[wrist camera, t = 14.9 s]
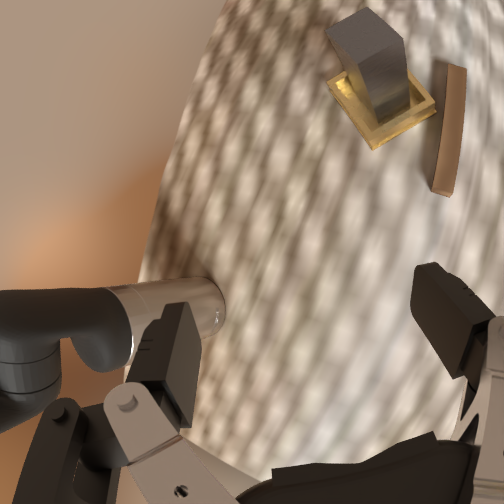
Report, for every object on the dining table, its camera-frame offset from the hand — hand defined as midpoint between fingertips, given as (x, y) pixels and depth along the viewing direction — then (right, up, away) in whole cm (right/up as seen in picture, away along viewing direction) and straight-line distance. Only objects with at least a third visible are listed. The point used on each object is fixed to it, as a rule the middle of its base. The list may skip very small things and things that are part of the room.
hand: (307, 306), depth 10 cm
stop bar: (+14, +20, +22) cm, 33 cm away
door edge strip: (+22, +16, +19) cm, 33 cm away
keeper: (+14, +21, +23) cm, 34 cm away
